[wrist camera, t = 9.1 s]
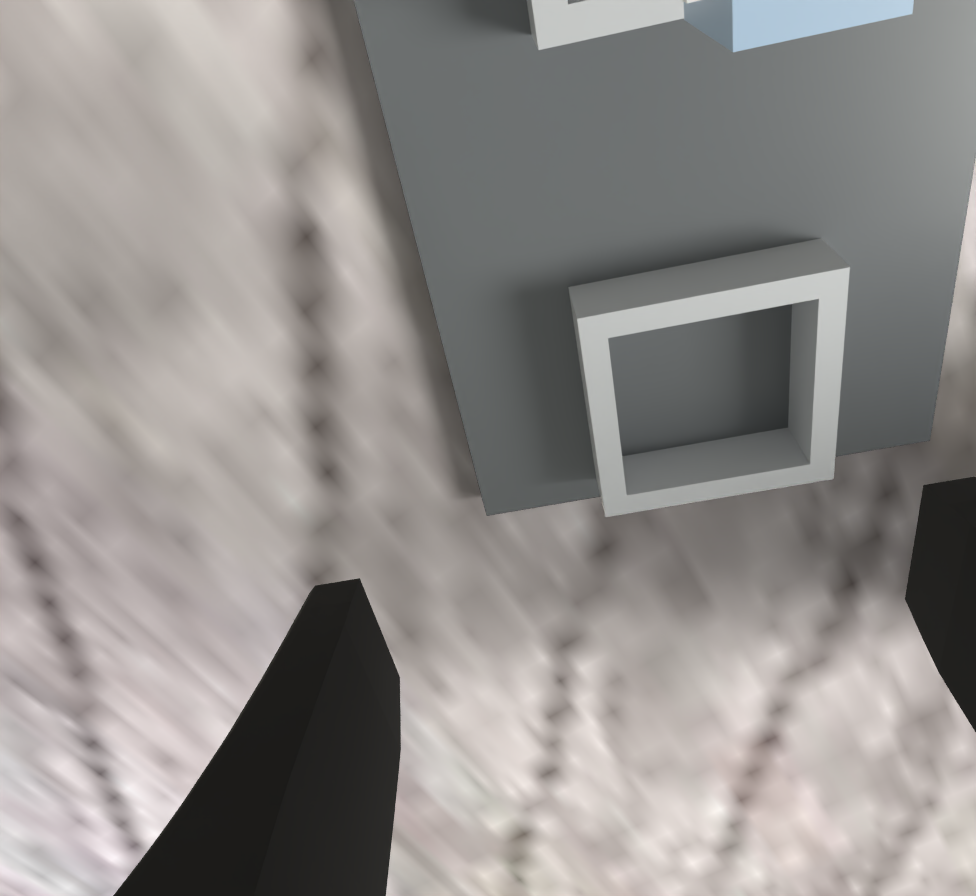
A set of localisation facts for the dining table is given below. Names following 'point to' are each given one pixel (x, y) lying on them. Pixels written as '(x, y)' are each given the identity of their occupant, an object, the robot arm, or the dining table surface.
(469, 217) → the port board
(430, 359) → the dining table surface
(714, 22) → the plug
